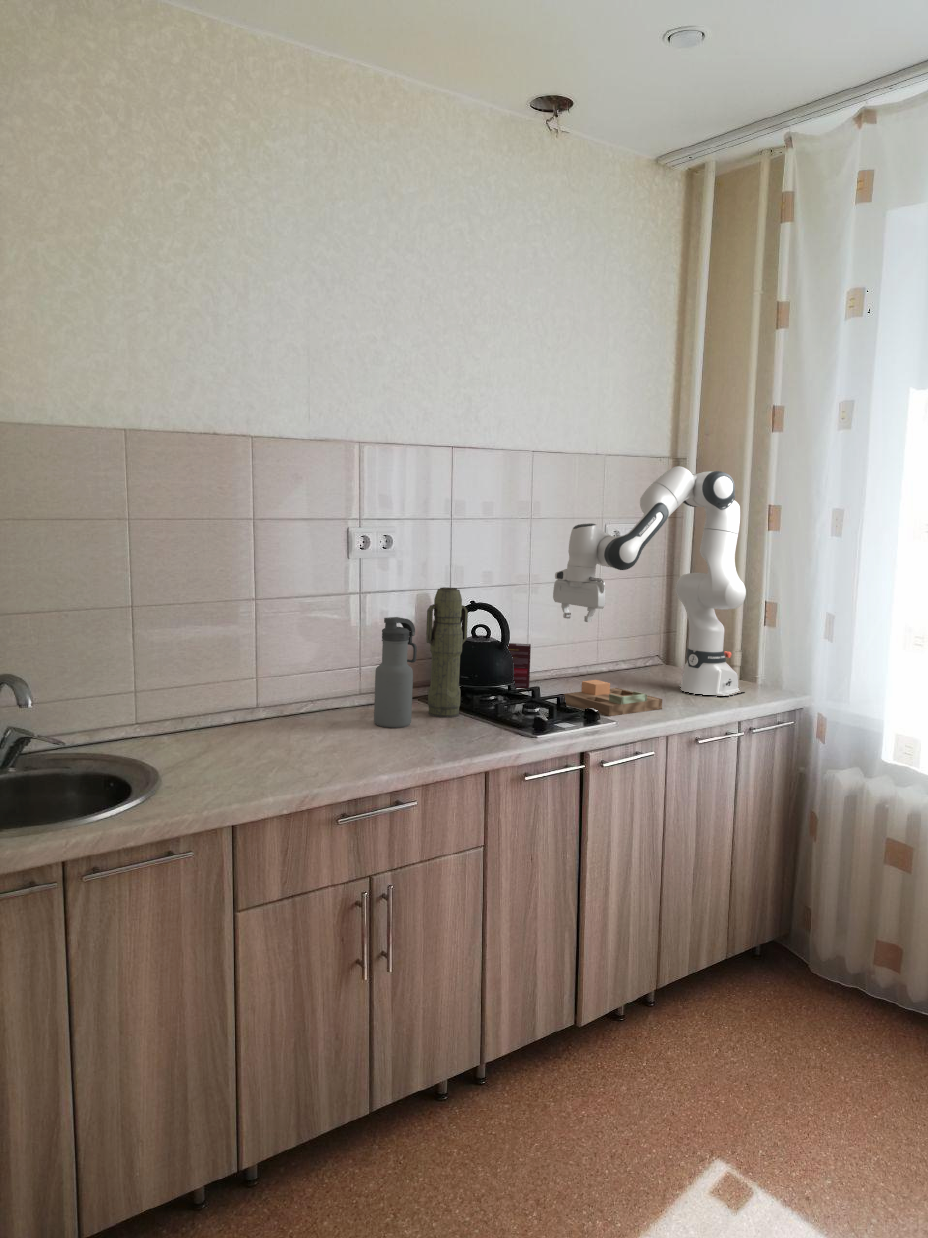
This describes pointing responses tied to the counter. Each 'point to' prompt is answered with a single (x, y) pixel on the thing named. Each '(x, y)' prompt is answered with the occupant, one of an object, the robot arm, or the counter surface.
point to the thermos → (446, 651)
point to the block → (595, 687)
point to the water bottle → (395, 675)
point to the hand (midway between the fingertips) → (577, 620)
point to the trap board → (614, 702)
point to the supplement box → (521, 663)
